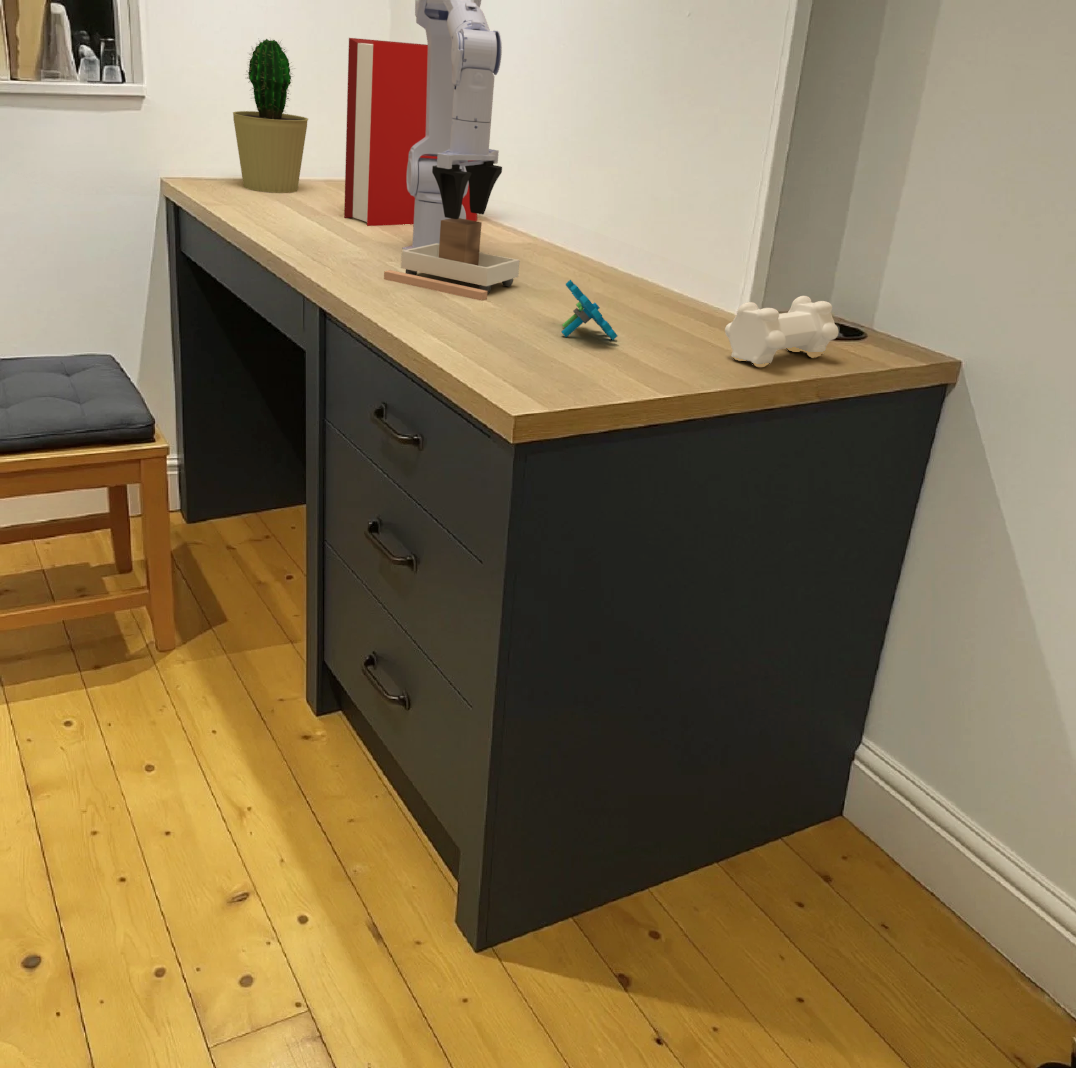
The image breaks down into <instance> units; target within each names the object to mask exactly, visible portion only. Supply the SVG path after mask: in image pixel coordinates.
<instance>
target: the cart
mask: <svg viewBox="0 0 1076 1068" xmlns="http://www.w3.org/2000/svg"><path fill="white" fill-rule="evenodd" d="M400 257H401V258H400V261H401V262H400V269H404V270H405V273H406V274H411V275H416V276H418V273H423V274H426V275H431V276H436V277H440V278H446V279H450V280H455V281H460V282H465V283H468V284H469V283H470V284H473V285H474V284H475V285H478V286H479V288H478V289H480V290H485V291H488V292H487V295H488V294H489V293H490V292H491V289H492V286H493V285H496V284H499V283H501V284H502V286H505V287H507V288H508V287H509V288H511V286H512V285H513V282H514V279H515V278H518V277H519V271H520V262H521V261H520V259H517V258H512V257H507V256H502V255H497V254H492V253H486V252H481V251H479V263H478V266H477V265H473V264H468V263H463V262H458V261H453V260H448V259H444V258H439V244H438V243H435V244H431V245H426V246H421V247H417V248H412V249H407V250H405V249H402V250H401V255H400Z"/></svg>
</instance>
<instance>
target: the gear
mask: <svg viewBox="0 0 1076 1068" xmlns="http://www.w3.org/2000/svg"><path fill="white" fill-rule="evenodd" d="M565 287H566V288H567V289H568V290H569V291H570V292H571V295H572V296H574V299H576V300H577V301H578V302H577V303H576V304H575V305H576V308H575V309H573V310H572V312H573V313H574V314H573V315H572V316H570V317H569V318H568V319H567V320H566V321H565V322H564V323H562V327H563V328H564V329H563V330H561V333H562V334H563V336H564V337H565V338H568V336H570V335H571V334H572V333H573V332H575V330H577V329H578V328H579V327H580V326H581V325H583V324H585V325H586V324H587V323H588V322H589V321H590V320H593V321H594V323H596V324H597V325H598V326H599V327H600V329H601V330H602V331H603V332H604V333H605V334H606V336H608V337H609V338H610V339H612V340H611V341H614V340H615V339H616V338H618V336H619V335H618V334H617V333H616V332H615V330H614V328H613V327H612V325H611V324H610V323H609V321H607V320H605V318H604V317H603V315H602V313H601V312H600V311H599V309H600V307H599V305H598V304H597V302H594V303H592V301H591V300H590V299H589V298H588V296H586V294H584V293H583V292H582V290H581V288H579V286H578V285H577V284H575V283H574V282H573V281H572V280H571V279H569V280H568V281H567V282H565Z"/></svg>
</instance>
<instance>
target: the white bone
mask: <svg viewBox="0 0 1076 1068" xmlns="http://www.w3.org/2000/svg"><path fill="white" fill-rule="evenodd" d="M832 311H833V305H832V303H830V302H828V301H826V300H825V301H824V300H819V301H815V302H813V301H812V299H811V298H810V297H809V296H807V295H801V296H798V297H796V298H795V299H794V300H793V301H792V303H791V307H790V308H789V310H788V312H783V313H779V311H778V310H777V309H776V308H772V307H764V308H759V306H758V305H757V303H755V302H752V301H749V302H744V303H742V304H741V305H740V306H739V307H738V309H737V311H736V315H735V317H734V318H733V320H732V321H731V322H729V323H728V324H726V326H725V328H724V333H725V336H726V337H727V338H728V341H729V344H730V347H731V351H732V352H731V358H732V357H735V358H739V359H743V360H747V361H746V362H751V364H752V363H756V364H763V363H764V364H765V363H770V364H771V363H772V362H773V360H774V356H775V354H776V353H777V351H778V350H784V349H786V348H792V347H796V348H799V349H802V350H805V351H808V352H823V351H825V352H826V349H827V346H828V344H829V343H830V342H831V341H832V340H836V338H838V336H839V328H838V326H837V324H835V320H834V318H833V314H832ZM786 350H787V349H786Z"/></svg>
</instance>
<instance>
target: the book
mask: <svg viewBox="0 0 1076 1068" xmlns="http://www.w3.org/2000/svg"><path fill="white" fill-rule="evenodd" d="M347 56H348V57H347V58H348V59H347V61H348V62H347V64H348V65H347V90H346V92H347V95H346V97H347V98H346V103H347V104H346V135H345V136H346V137H345V138H346V141H345V173H344V174H345V176H344V213H343V218H344V219H357V220H360V221H364V222H366V226H367V227H376V226H377V227H379V226H383V227H384V226H401V225H402V226H405V224H410V225H414V206H415V197H414V196H412V195H410V193H409V192H408V190H407V165H408V158H409V151H410V149H411V147H412V146H413V145H415V144H416V143H417V142H419V141H420V140H422V139H423V138H424V137H425V136H426V101H427V58H428V44H422V43H414V42H413V43H412V42H401V41H388V40H381V39H380V40H379V39H378V40H377V39H368V38H367V39H366V38H357V37H348V55H347ZM420 158H432V159H437V156H420ZM468 161H475V160H468ZM462 205H463V207H464V209H465V212H466V219H467V220H472V221H477V222H478V214H476V213H471V211H470V193H469V184H468V191H467V194H466V195H465V196H464V198H463V200H462ZM403 224H404V225H403Z"/></svg>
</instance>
